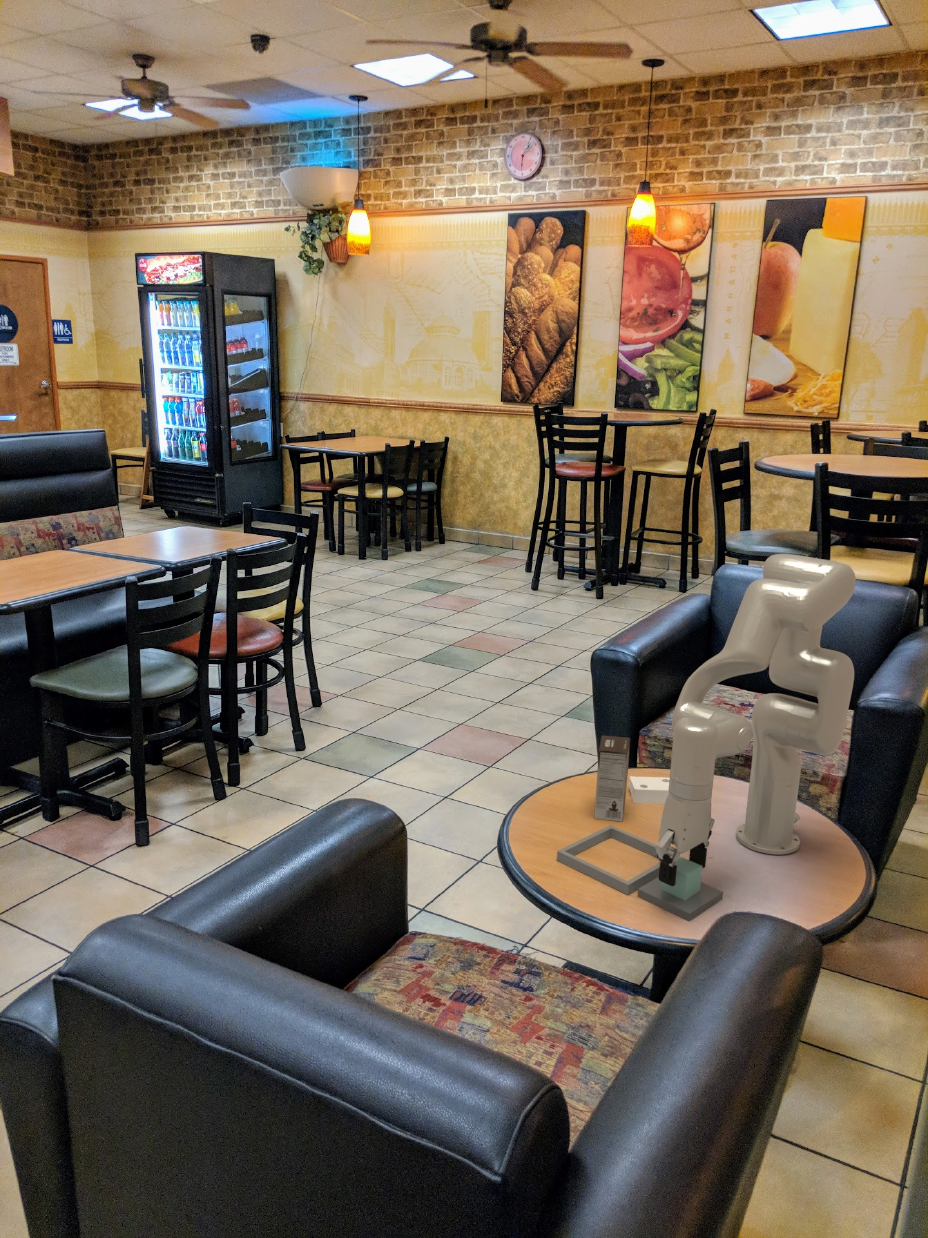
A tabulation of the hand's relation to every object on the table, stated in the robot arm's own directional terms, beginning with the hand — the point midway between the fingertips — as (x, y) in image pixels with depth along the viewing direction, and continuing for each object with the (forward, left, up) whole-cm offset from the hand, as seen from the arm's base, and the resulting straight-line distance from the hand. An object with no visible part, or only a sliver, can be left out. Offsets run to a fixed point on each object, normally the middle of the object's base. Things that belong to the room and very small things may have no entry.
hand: (682, 874), depth 172 cm
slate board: (0, 0, -5) cm, 5 cm away
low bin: (-2, -15, -5) cm, 16 cm away
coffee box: (-19, -30, -5) cm, 36 cm away
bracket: (-34, -28, -5) cm, 44 cm away
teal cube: (0, 0, -3) cm, 3 cm away
